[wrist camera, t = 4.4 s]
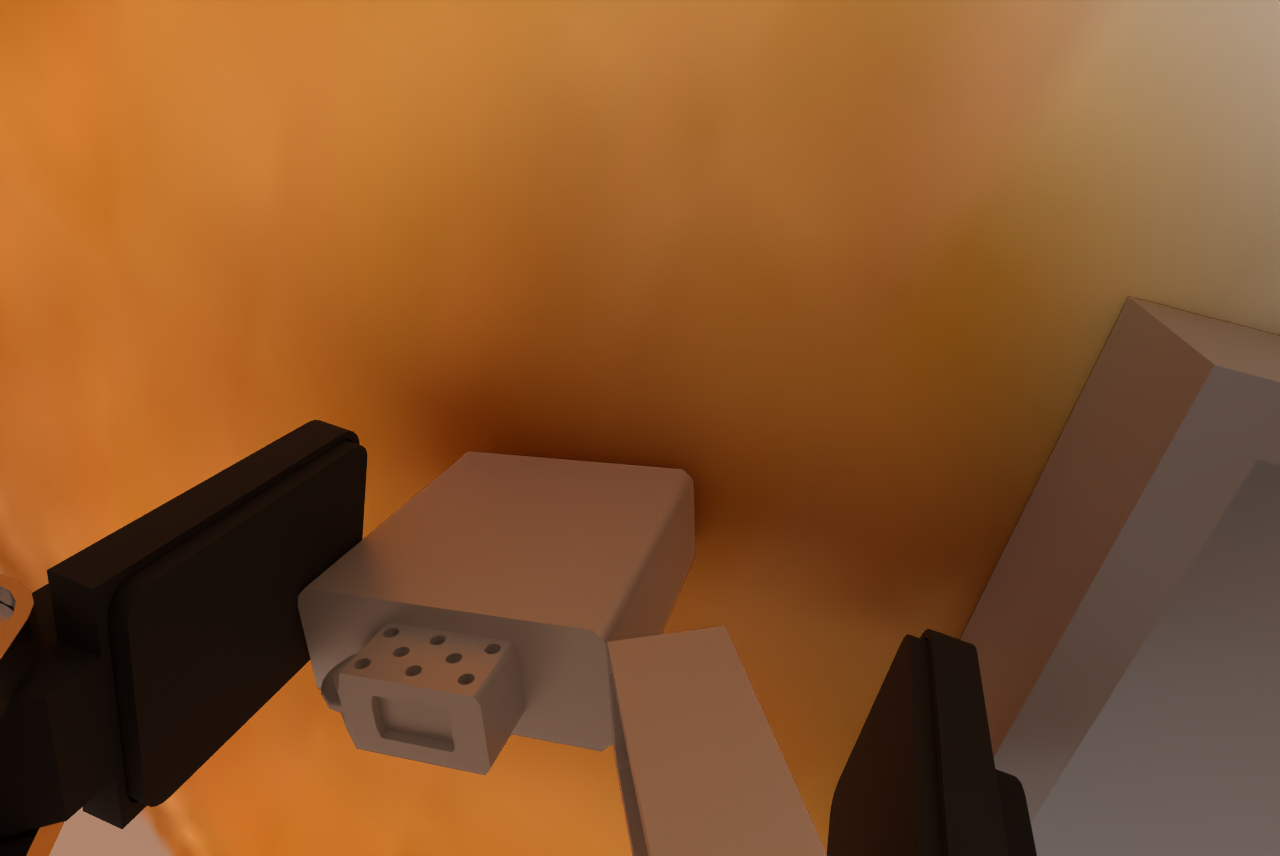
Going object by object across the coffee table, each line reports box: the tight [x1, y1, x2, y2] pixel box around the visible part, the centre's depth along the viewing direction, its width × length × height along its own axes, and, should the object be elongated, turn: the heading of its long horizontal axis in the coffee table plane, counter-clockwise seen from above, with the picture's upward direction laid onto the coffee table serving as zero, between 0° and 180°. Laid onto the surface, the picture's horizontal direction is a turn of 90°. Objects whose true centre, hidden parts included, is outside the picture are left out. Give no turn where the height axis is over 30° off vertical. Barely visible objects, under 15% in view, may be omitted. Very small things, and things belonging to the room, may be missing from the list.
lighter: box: [298, 451, 827, 856], centre depth 9 cm, size 7×2×8 cm, turn 92°
